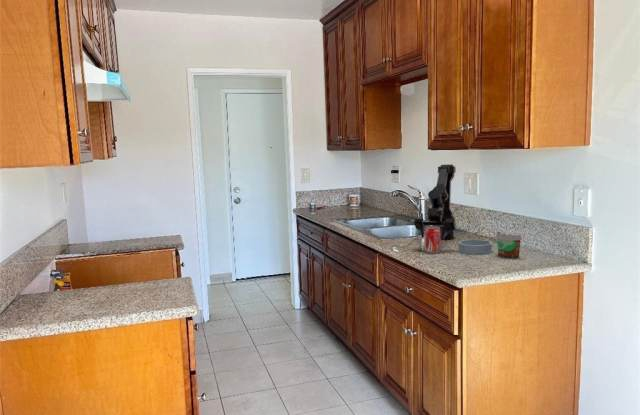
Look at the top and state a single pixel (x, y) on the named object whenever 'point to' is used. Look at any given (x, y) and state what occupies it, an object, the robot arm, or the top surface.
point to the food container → (508, 245)
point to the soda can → (433, 239)
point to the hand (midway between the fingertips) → (432, 238)
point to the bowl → (475, 246)
